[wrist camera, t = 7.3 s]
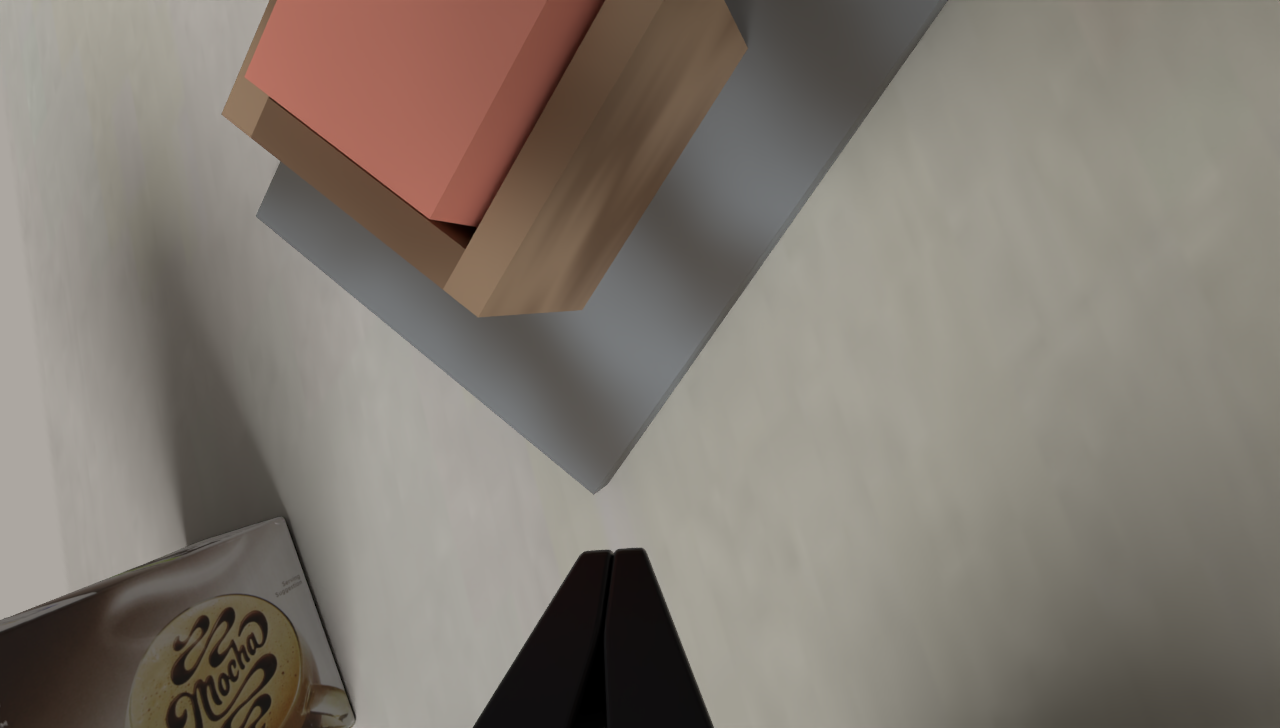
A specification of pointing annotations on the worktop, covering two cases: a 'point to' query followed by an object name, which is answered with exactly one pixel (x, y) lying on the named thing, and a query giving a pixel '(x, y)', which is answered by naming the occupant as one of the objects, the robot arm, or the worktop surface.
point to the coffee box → (179, 645)
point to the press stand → (602, 207)
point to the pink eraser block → (422, 86)
